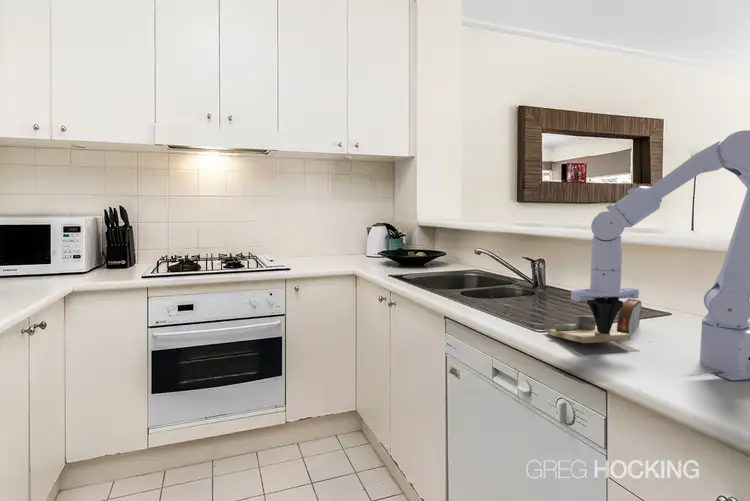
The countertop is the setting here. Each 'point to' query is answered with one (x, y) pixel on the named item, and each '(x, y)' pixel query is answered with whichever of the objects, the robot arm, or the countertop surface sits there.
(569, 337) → the plate
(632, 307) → the brown and grey slab
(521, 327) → the countertop surface
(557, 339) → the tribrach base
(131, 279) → the countertop surface
